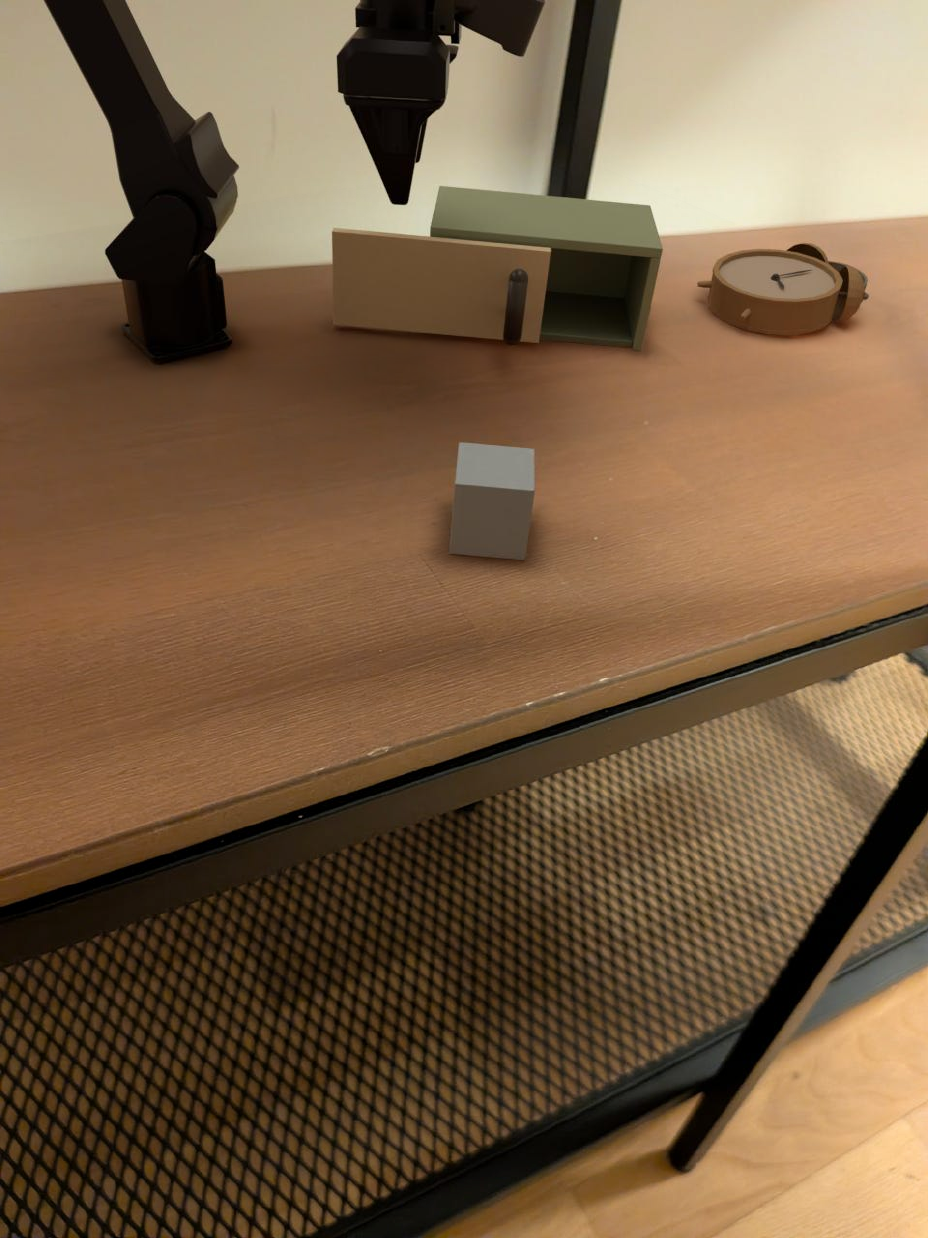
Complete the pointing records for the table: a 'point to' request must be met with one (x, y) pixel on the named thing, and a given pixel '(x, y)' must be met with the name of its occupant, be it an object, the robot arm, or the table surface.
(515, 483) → the block
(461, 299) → the door
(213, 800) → the table surface
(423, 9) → the robot arm
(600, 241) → the cabinet
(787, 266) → the alarm clock
